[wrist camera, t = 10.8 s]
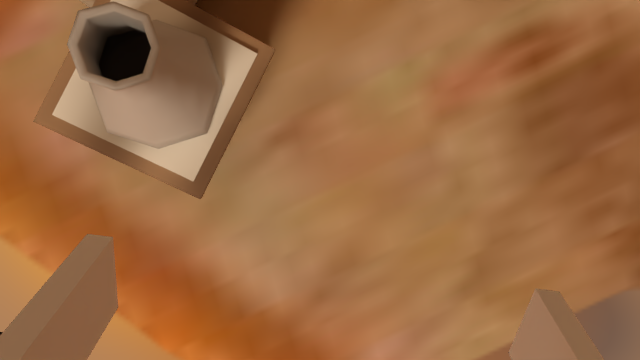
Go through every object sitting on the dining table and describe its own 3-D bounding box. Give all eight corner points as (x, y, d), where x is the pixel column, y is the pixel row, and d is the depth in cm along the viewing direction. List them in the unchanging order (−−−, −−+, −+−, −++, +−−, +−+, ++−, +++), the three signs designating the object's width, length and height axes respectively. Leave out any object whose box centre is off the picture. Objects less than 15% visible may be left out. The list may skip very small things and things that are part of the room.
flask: (91, 148, 27) (7, 145, 17) (88, 17, 26) (0, -65, 16) (223, 149, 28) (217, 146, 18) (222, 24, 27) (215, -49, 18)
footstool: (265, 73, 37) (275, 48, 28) (208, 188, 37) (199, 199, 28) (144, 9, 35) (113, -41, 26) (82, 129, 35) (30, 121, 26)
